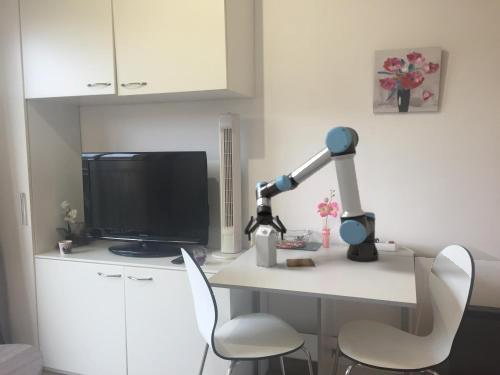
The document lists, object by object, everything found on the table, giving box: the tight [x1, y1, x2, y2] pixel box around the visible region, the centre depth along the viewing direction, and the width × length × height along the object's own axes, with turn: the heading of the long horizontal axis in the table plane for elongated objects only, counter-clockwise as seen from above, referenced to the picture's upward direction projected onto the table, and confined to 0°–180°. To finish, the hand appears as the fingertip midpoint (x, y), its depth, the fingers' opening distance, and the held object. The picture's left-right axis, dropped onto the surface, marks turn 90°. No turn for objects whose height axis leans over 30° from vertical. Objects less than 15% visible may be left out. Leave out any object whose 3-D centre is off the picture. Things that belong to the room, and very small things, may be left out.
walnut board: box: [285, 257, 315, 268], centre depth 200 cm, size 12×10×1 cm
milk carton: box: [255, 225, 278, 268], centre depth 198 cm, size 7×7×19 cm
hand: (266, 245), depth 196 cm, fingers open, 13 cm apart
